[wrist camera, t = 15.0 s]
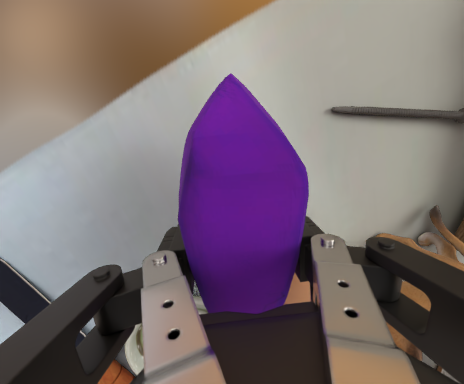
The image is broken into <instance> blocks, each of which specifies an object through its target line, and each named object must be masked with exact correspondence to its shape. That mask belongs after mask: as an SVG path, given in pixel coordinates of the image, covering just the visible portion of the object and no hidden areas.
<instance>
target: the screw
mask: <svg viewBox="0 0 464 384" xmlns="http://www.w3.org/2000/svg"><path fill="white" fill-rule="evenodd" d="M332 111H336V112H341V113H351V114H353V113H354V114H359V115H360V114H366V115H368V114H369V115H373V114H374V115H381V116H382V115H384V116H385V115H386V116H388V115H389V116H404V117H405V116H406V117H410V116H411V117H423V118H424V117H426V118H427V117H428V118H445V119H446V118H447V119H455V120H456V121H457V122H458V123H464V108H463V109H461V110H459V111H440V110H439V111H438V110H421V109H420V110H419V109H417V110H416V109H401V108H400V109H399V108H397V109H396V108H378V107H377V108H376V107H355V106H354V107H353V106H351V107H333V108H332Z"/></svg>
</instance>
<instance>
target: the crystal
mask: <svg viewBox="0 0 464 384" xmlns="http://www.w3.org/2000/svg"><path fill="white" fill-rule="evenodd" d="M308 196H309V190H308V176H307V171H306V168H305V166H304V164H303V163H302V161H301V159H300V158H299V156H298V155H297V153H296V151H295V150H294V148H293V147H292V145H291V144H290V142H289V141H288V139H287V138H286V136H285V135H284V133H283V132H282V130H281V129H280V127H279V126H278V124H277V123H276V122H275V121H274V120H273V118H272V117H271V116H270V115H269V114H268V112H267V111H266V110H265V109H264V108H263V106H262V105H261V104H260V103H259V102H258V101H257V99H256V98H255V97H254V96H253V95H252V94H251V92H250V91H249V90H248V89H247V88H246V87H245V86H244V85H243V84H242V83H241V82H240V81H239V80H238V79H237V78H236V77H234V76H233V75H232V74H231V73H230V74H229V75H228V76H227V77H225V79H224V80H223V81H222V82H221V83H220V84H219V85H218V87H217V88H216V90H215V91H214V92H213V93H212V95H211V96H210V98H209V99H208V100H207V102H206V104H205V105H204V107H203V108H202V110H201V111H200V113H199V115H198V116H197V118H196V120H195V121H194V123H193V124H192V126H191V128H190V130H189V132H188V135H187V138H186V143H185V147H184V153H183V159H182V167H181V177H180V189H179V212H178V222H179V227H180V231H181V235H182V239H183V243H184V247H185V251H186V254H187V258H188V262H189V265H190V269H191V271H192V274H193V276H194V279H195V282H196V285H197V287H198V290H199V293H200V295H201V298H202V301H203V304H204V306H205V308H206V310H207V311H208V313H215V312H224V311H231V312H241V313H252V314H259V313H262V312H265V311H268V310H271V309H274V308H276V307H279V306H282V305H284V303H285V301H286V298H287V296H288V292H289V289H290V286H291V283H292V279H293V276H294V273H295V269H296V265H297V262H298V258H299V253H300V247H301V242H302V236H303V230H304V224H305V216H306V209H307V202H308Z"/></svg>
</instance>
